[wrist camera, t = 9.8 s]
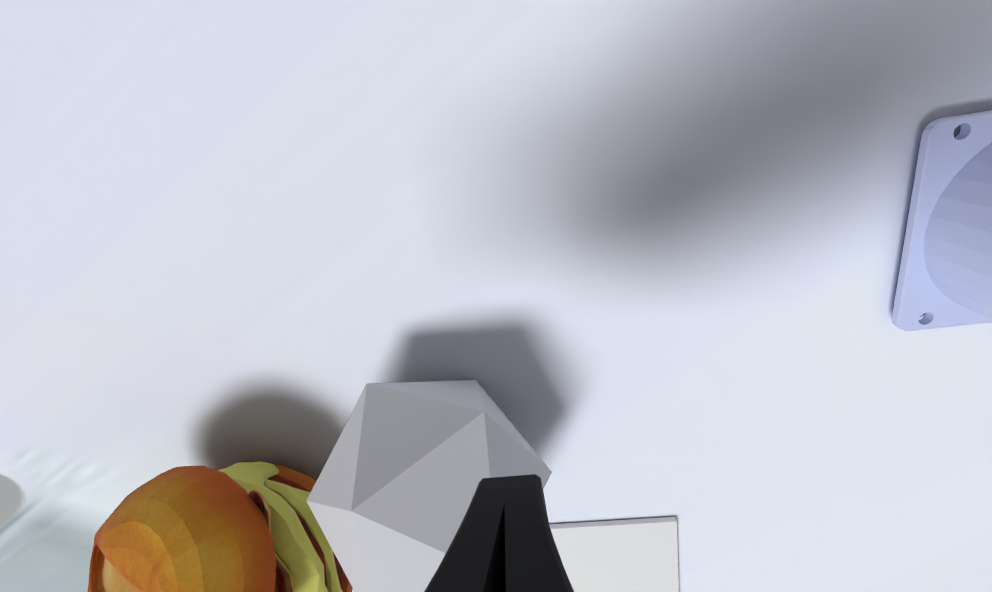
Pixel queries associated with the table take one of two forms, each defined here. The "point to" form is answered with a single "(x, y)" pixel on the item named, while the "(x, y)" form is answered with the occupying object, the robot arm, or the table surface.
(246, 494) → the cheeseburger
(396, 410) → the die
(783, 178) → the table surface
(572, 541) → the mat
